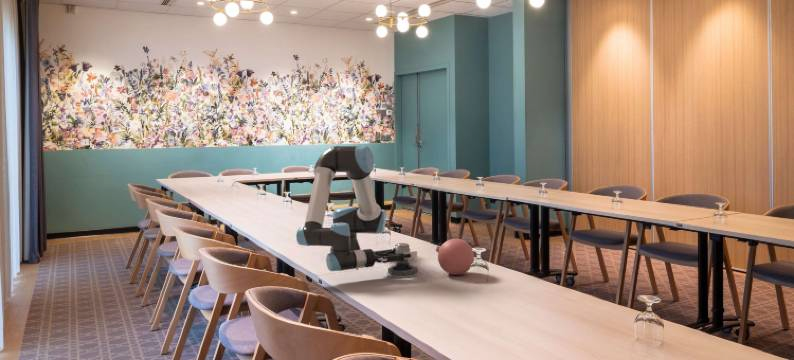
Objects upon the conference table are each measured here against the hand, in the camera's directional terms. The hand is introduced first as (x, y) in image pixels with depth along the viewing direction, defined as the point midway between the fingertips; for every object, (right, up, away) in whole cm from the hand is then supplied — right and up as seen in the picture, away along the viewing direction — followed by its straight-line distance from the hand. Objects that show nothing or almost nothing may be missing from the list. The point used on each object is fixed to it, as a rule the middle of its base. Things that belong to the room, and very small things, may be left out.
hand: (413, 252), depth 268 cm
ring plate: (-5, -9, -1) cm, 10 cm away
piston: (-5, -7, -1) cm, 9 cm away
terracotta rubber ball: (+17, -9, -2) cm, 19 cm away
